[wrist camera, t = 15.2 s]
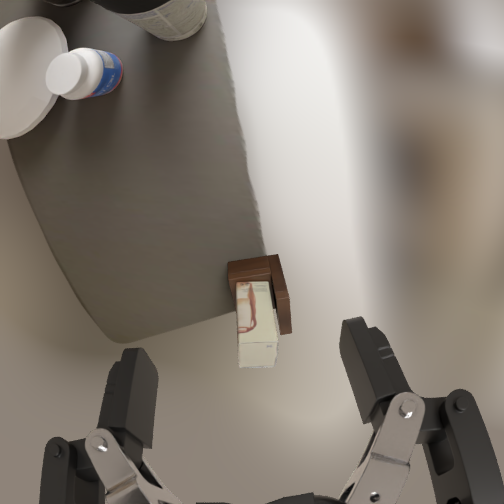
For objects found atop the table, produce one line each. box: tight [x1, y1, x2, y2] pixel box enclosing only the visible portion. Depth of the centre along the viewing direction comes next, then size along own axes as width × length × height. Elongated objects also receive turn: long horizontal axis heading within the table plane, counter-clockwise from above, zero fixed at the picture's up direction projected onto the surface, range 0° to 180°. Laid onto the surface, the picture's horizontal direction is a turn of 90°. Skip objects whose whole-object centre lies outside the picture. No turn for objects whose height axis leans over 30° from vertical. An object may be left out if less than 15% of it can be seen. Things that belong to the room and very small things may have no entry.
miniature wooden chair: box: [228, 254, 292, 335], centre depth 38 cm, size 6×7×9 cm
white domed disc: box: [0, 16, 68, 139], centre depth 20 cm, size 16×16×7 cm
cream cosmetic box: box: [236, 282, 278, 368], centre depth 35 cm, size 5×4×10 cm
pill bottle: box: [46, 48, 123, 100], centre depth 21 cm, size 6×5×10 cm
